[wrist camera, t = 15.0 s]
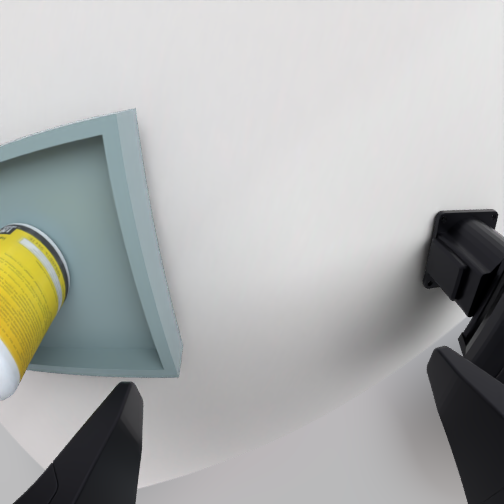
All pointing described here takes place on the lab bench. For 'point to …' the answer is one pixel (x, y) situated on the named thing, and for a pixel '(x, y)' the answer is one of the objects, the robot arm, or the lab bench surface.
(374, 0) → the lab bench surface
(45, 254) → the pill bottle
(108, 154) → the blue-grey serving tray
